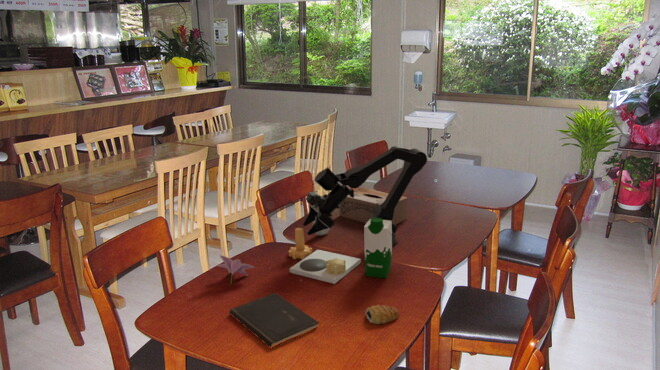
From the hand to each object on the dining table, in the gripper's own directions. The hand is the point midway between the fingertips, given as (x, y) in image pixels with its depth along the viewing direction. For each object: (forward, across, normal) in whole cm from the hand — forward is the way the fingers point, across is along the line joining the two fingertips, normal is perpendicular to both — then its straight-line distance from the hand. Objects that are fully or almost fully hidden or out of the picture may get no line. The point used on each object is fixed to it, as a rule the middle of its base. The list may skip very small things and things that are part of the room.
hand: (305, 229), depth 197 cm
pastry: (-2, +50, +16) cm, 52 cm away
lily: (+26, +14, -12) cm, 32 cm away
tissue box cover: (-18, -30, +31) cm, 47 cm away
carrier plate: (+4, +13, +10) cm, 17 cm away
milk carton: (-8, +22, +22) cm, 32 cm away
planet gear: (+8, 0, +5) cm, 10 cm away
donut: (0, -16, +14) cm, 21 cm away
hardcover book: (+20, +43, -5) cm, 48 cm away
